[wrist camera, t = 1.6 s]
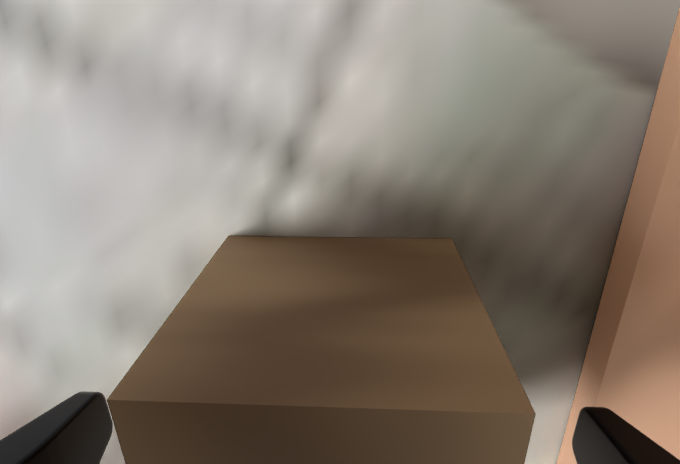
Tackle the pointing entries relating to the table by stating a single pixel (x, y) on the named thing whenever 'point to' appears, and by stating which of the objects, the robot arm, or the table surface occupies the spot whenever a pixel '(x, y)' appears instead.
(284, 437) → the walnut cube
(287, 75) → the table surface
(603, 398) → the tile mat
